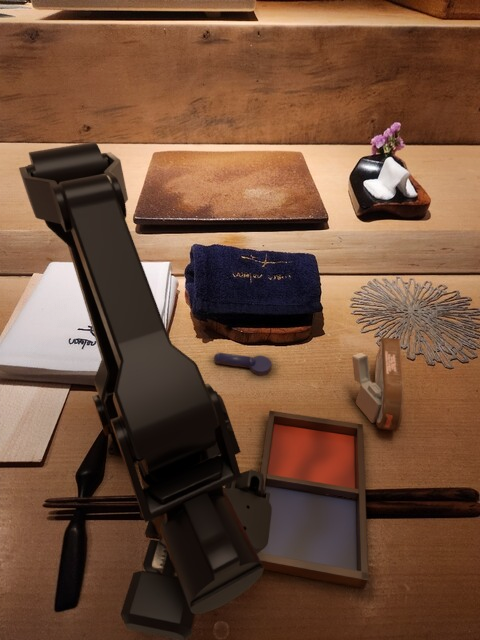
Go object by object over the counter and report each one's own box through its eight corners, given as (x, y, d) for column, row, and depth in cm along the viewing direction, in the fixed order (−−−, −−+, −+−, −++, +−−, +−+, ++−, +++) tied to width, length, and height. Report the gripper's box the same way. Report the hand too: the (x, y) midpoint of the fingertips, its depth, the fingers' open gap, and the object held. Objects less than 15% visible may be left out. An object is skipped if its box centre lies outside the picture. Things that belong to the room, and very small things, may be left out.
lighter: (381, 419, 67) (395, 383, 61) (372, 423, 66) (385, 388, 61) (352, 384, 72) (362, 349, 66) (343, 388, 71) (352, 352, 66)
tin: (394, 443, 64) (410, 406, 58) (371, 439, 65) (385, 402, 59) (390, 364, 75) (403, 327, 69) (370, 361, 75) (382, 324, 70)
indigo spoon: (212, 368, 74) (211, 361, 72) (216, 353, 76) (216, 346, 75) (269, 377, 73) (270, 369, 71) (272, 361, 75) (272, 353, 74)
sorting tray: (247, 567, 52) (247, 558, 50) (268, 421, 66) (269, 410, 65) (363, 588, 50) (368, 580, 49) (359, 434, 65) (362, 424, 63)
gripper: (252, 626, 33) (245, 673, 43) (279, 414, 47) (269, 489, 57) (104, 596, 34) (133, 649, 45) (172, 398, 48) (182, 474, 58)
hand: (187, 555), depth 51 cm, fingers closed
